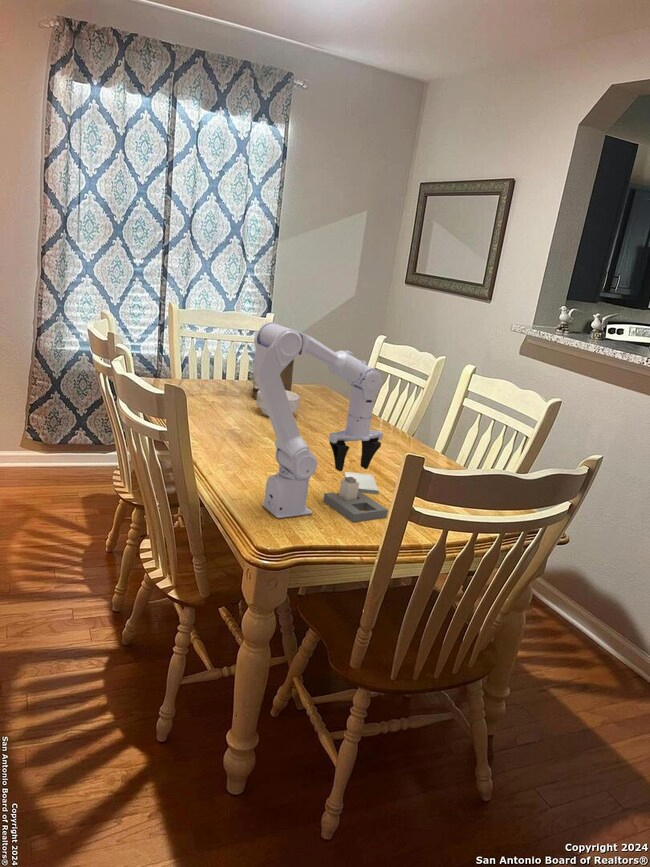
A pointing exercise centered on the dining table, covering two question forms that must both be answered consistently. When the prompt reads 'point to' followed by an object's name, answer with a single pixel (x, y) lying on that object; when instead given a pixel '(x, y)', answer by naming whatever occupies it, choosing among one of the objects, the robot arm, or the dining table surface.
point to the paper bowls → (292, 399)
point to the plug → (348, 488)
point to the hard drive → (364, 482)
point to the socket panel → (356, 507)
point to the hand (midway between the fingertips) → (351, 468)
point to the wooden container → (285, 377)
